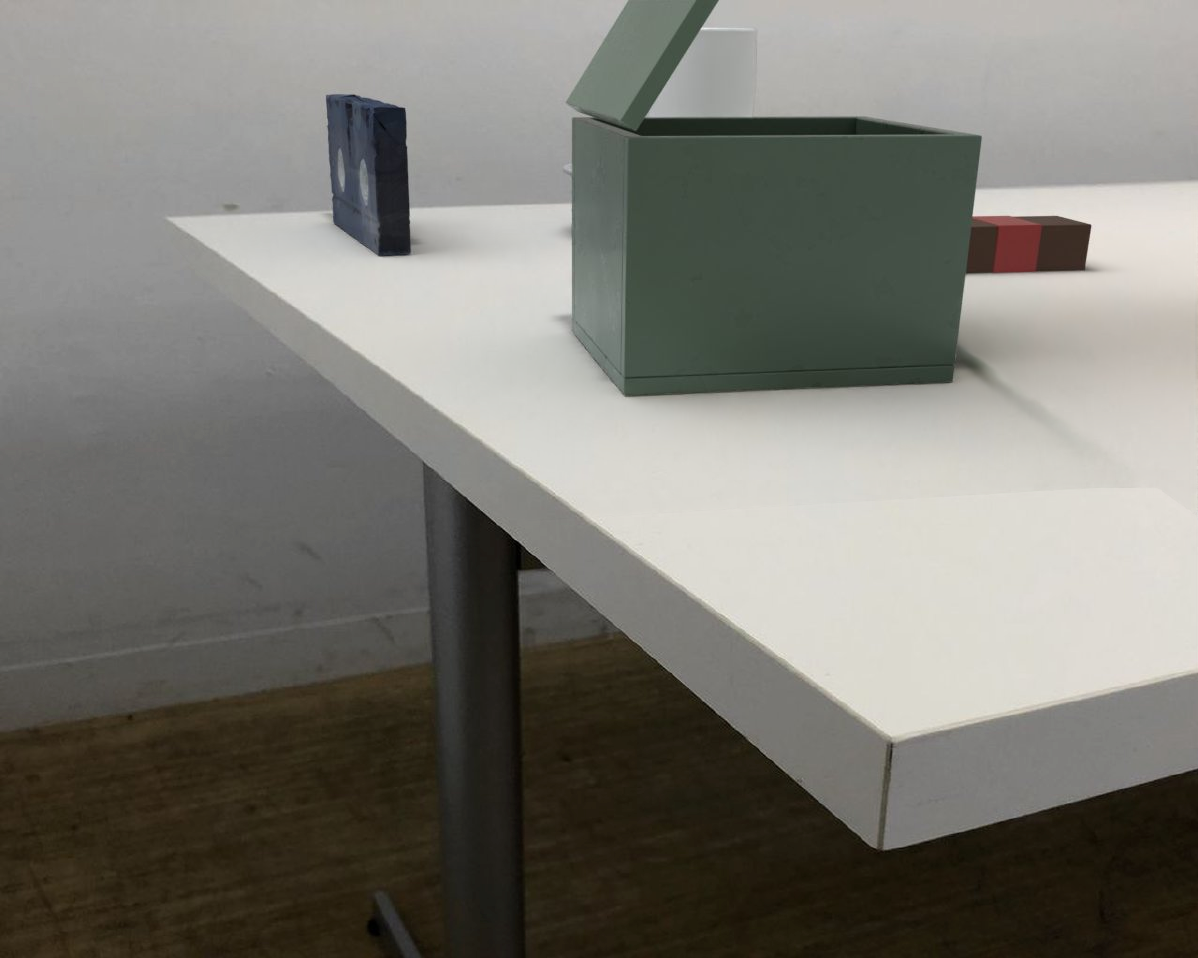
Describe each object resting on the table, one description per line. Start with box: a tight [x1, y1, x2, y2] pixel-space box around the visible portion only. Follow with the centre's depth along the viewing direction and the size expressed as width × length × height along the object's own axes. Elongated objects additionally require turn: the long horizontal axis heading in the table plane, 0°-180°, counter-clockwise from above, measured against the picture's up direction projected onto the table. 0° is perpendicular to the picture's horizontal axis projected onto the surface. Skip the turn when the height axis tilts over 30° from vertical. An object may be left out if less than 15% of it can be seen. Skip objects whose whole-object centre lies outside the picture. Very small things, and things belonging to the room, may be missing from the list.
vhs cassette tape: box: [325, 93, 412, 256], centre depth 99 cm, size 18×3×10 cm, turn 19°
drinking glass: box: [647, 27, 758, 117], centre depth 83 cm, size 7×7×15 cm
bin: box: [571, 115, 983, 397], centre depth 63 cm, size 16×14×11 cm
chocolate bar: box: [966, 215, 1092, 274], centre depth 85 cm, size 10×4×4 cm, turn 101°
